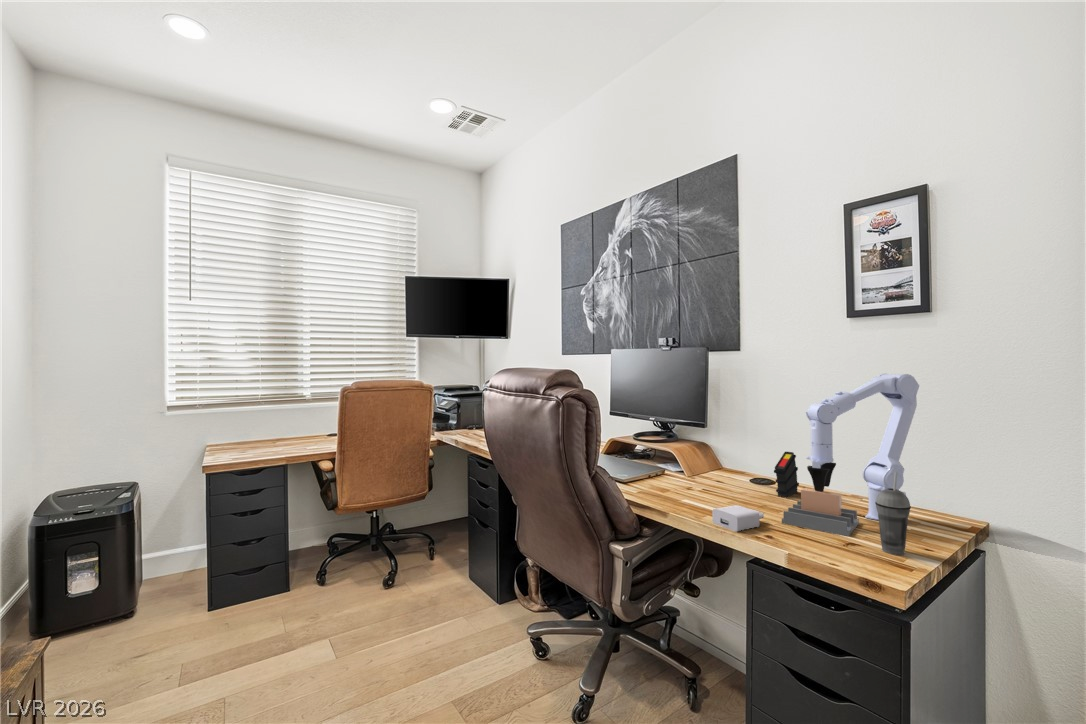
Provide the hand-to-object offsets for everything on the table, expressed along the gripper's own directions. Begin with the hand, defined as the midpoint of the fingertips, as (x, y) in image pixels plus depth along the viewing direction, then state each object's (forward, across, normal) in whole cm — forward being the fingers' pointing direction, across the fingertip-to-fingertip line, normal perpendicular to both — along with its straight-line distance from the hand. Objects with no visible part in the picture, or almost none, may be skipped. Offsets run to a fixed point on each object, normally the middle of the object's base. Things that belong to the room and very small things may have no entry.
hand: (822, 488), depth 149 cm
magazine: (+10, -24, -16) cm, 30 cm away
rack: (+9, +4, 0) cm, 10 cm away
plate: (+8, +4, 0) cm, 9 cm away
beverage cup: (+10, +18, +19) cm, 28 cm away
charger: (+10, +20, -16) cm, 28 cm away
